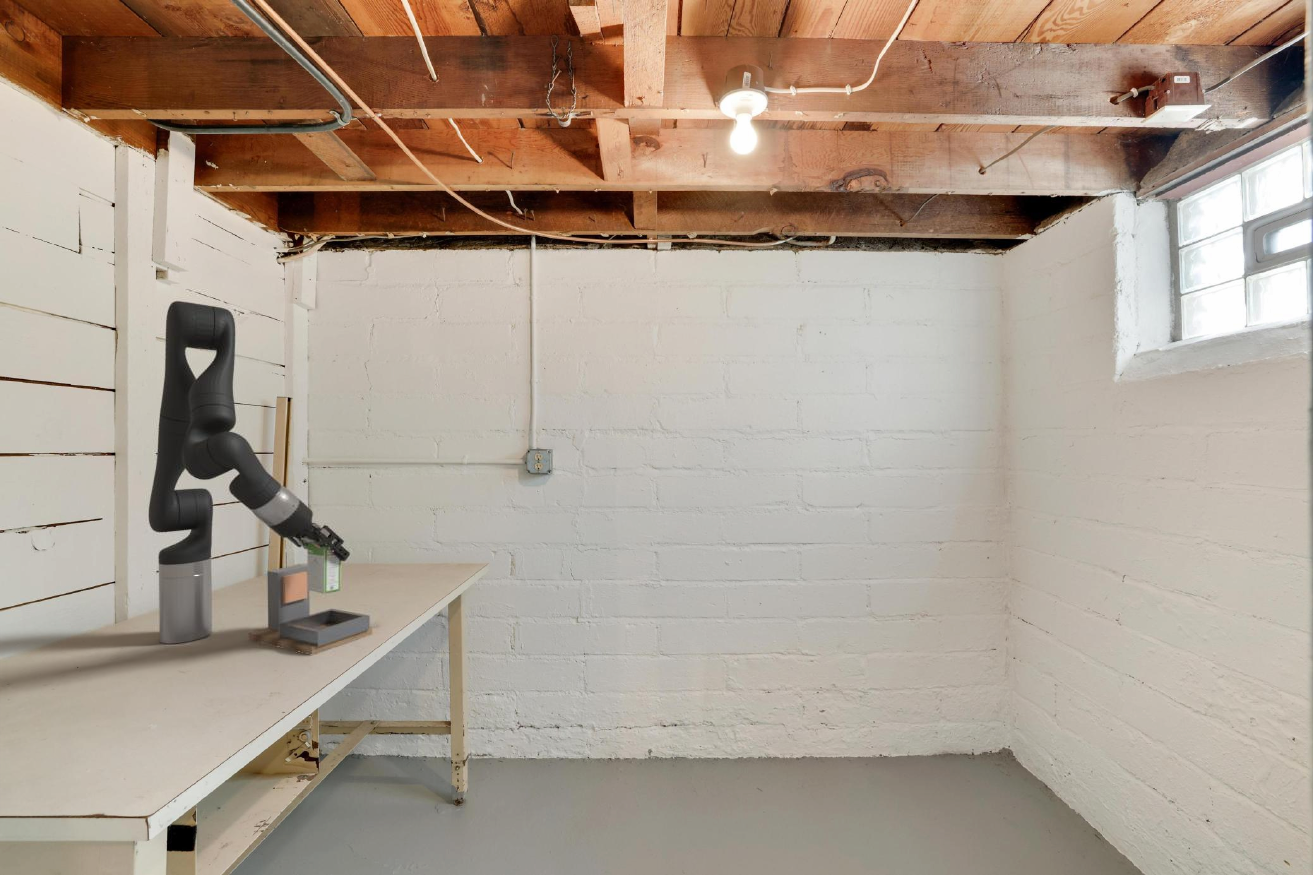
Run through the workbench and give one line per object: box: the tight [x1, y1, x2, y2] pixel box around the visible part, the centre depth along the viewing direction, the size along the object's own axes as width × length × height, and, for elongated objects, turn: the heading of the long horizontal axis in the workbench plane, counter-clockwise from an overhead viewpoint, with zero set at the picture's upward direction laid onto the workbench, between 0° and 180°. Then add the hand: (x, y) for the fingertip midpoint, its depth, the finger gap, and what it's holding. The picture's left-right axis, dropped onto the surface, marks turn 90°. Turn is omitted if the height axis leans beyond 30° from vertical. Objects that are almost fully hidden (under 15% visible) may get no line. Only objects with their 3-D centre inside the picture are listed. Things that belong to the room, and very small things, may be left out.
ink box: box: [306, 540, 342, 595], centre depth 128 cm, size 7×4×13 cm, turn 58°
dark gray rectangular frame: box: [280, 608, 371, 646], centre depth 129 cm, size 19×12×3 cm, turn 64°
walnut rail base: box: [248, 623, 373, 655], centre depth 130 cm, size 22×14×2 cm, turn 64°
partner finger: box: [267, 564, 311, 631], centre depth 133 cm, size 5×7×13 cm
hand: (334, 556), depth 130 cm, fingers closed on ink box, 7 cm apart
